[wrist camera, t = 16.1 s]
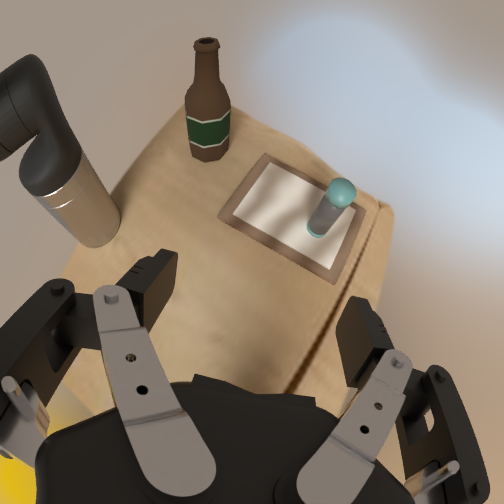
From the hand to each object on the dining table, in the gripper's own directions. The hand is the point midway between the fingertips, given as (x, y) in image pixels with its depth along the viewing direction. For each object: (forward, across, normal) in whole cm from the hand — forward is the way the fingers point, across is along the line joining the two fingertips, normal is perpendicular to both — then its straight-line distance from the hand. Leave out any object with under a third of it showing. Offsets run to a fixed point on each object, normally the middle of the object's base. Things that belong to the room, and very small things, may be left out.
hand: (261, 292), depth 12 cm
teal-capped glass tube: (+34, -9, +6) cm, 36 cm away
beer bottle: (+44, +13, -1) cm, 46 cm away
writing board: (+36, -6, +6) cm, 37 cm away
